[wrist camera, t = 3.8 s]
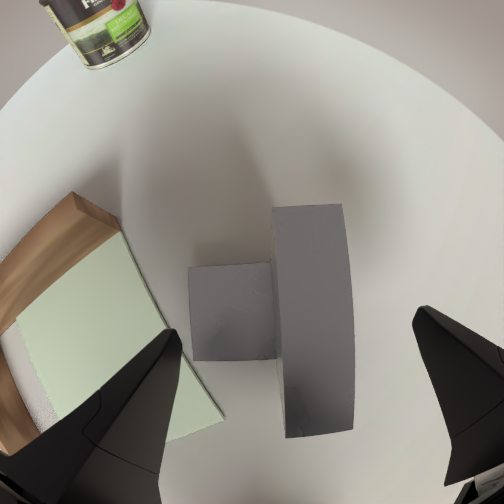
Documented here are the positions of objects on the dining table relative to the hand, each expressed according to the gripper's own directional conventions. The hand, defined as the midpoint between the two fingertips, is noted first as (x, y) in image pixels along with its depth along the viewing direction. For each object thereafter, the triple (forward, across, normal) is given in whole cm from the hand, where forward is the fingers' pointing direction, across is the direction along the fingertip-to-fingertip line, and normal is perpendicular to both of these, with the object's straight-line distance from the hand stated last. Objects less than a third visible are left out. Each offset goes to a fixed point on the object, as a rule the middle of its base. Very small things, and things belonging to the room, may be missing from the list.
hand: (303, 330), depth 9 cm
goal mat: (+3, -16, -9) cm, 18 cm away
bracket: (+7, -3, -6) cm, 9 cm away
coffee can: (+31, -19, +17) cm, 40 cm away
